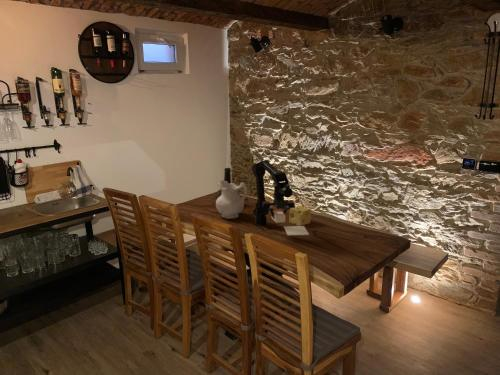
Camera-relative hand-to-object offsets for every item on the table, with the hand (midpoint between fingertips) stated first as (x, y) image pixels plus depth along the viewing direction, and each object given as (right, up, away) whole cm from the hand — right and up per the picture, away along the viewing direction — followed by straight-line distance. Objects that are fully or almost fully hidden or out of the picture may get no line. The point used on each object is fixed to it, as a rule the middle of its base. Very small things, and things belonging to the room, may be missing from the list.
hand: (278, 218), depth 235 cm
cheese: (+16, -5, +24) cm, 29 cm away
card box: (0, -1, 0) cm, 1 cm away
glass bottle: (-34, +5, +60) cm, 69 cm away
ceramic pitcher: (-29, -1, +35) cm, 46 cm away
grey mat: (+12, -9, +9) cm, 17 cm away
